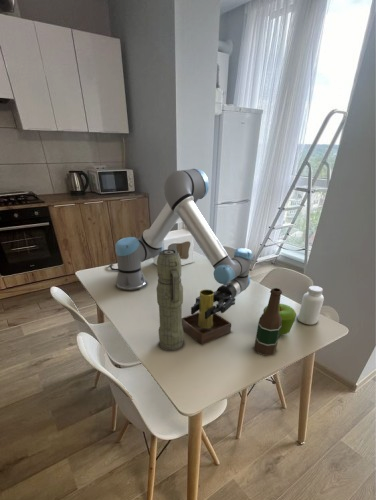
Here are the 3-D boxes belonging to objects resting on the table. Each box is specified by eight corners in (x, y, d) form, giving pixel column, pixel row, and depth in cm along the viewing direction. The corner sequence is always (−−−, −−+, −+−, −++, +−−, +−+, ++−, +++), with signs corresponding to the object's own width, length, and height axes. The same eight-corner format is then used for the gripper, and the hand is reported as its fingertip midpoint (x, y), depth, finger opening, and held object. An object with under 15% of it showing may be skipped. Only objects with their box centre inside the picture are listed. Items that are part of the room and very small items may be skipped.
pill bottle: (294, 320, 123) (302, 288, 115) (302, 313, 128) (310, 282, 120) (312, 327, 119) (322, 294, 110) (320, 320, 124) (329, 288, 115)
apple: (279, 343, 109) (285, 318, 103) (253, 330, 116) (257, 305, 110) (297, 332, 116) (304, 307, 109) (272, 320, 123) (276, 296, 117)
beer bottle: (276, 357, 102) (290, 296, 89) (254, 354, 103) (264, 293, 90) (275, 344, 108) (288, 285, 95) (254, 342, 110) (264, 283, 96)
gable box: (181, 256, 191) (181, 211, 175) (193, 262, 182) (194, 215, 166) (152, 263, 180) (150, 216, 164) (164, 269, 171) (162, 220, 155)
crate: (180, 327, 118) (180, 318, 115) (207, 317, 125) (208, 308, 123) (201, 344, 108) (202, 335, 106) (230, 332, 115) (231, 323, 113)
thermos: (168, 355, 102) (165, 259, 83) (153, 339, 110) (147, 248, 91) (189, 348, 106) (191, 254, 87) (173, 333, 114) (171, 244, 95)
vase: (195, 322, 116) (196, 290, 108) (208, 319, 118) (210, 287, 110) (201, 330, 112) (203, 297, 104) (215, 326, 114) (218, 294, 106)
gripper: (246, 305, 121) (219, 329, 105) (209, 294, 130) (179, 314, 114) (249, 288, 117) (221, 311, 101) (210, 278, 125) (178, 297, 109)
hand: (198, 313), depth 107 cm, fingers closed on vase, 5 cm apart
